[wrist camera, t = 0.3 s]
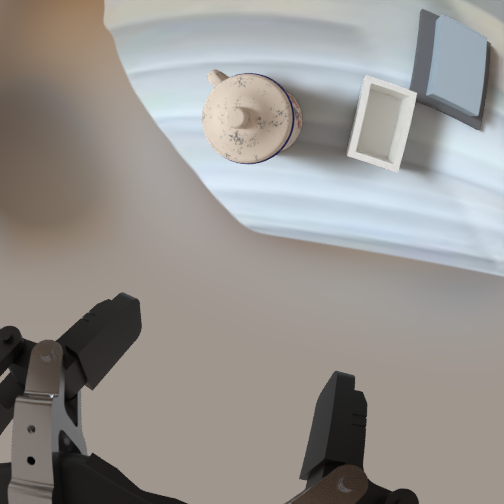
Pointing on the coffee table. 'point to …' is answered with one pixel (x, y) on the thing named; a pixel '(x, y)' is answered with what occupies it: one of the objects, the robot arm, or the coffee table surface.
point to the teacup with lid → (249, 117)
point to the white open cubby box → (381, 123)
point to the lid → (457, 66)
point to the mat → (424, 67)
